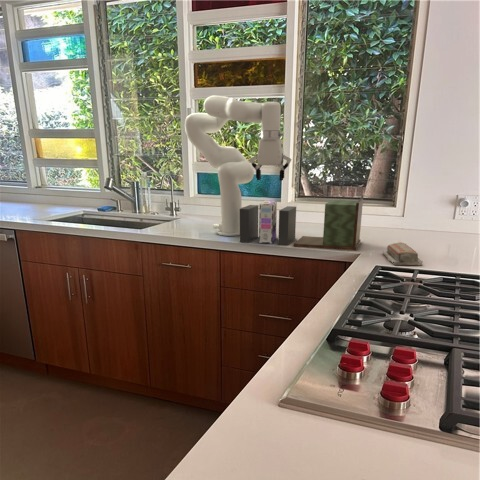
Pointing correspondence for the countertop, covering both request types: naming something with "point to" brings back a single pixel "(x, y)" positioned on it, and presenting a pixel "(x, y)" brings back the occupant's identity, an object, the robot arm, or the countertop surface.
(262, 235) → the candy box
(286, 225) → the grey rectangular blocks
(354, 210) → the green zigzag bookend
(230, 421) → the countertop surface
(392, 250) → the butter dish
